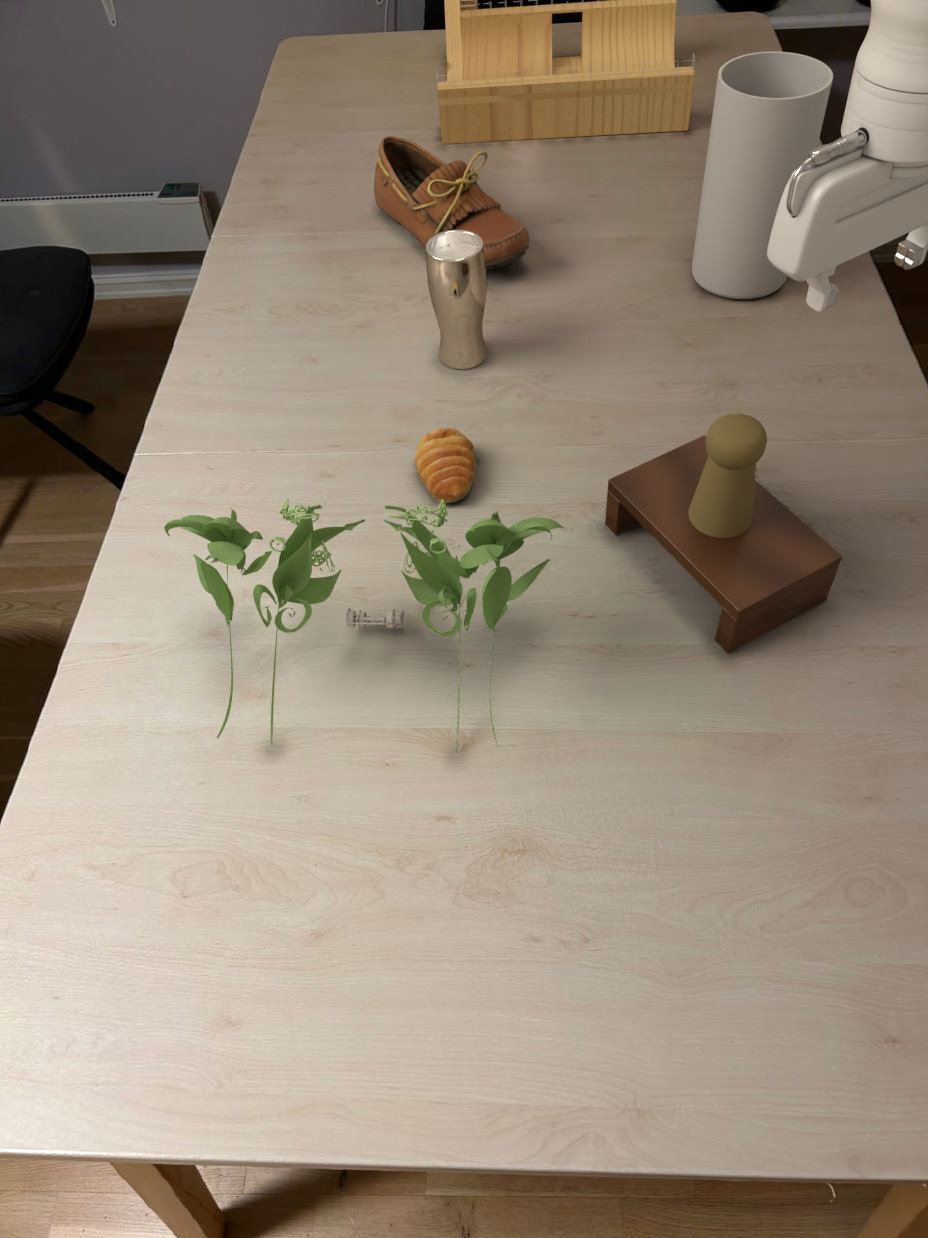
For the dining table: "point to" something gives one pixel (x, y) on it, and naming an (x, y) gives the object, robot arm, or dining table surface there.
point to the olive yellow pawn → (728, 477)
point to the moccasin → (444, 200)
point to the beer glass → (458, 296)
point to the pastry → (446, 464)
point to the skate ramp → (561, 72)
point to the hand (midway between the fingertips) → (864, 284)
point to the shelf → (727, 546)
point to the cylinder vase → (754, 165)
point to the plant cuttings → (433, 568)
